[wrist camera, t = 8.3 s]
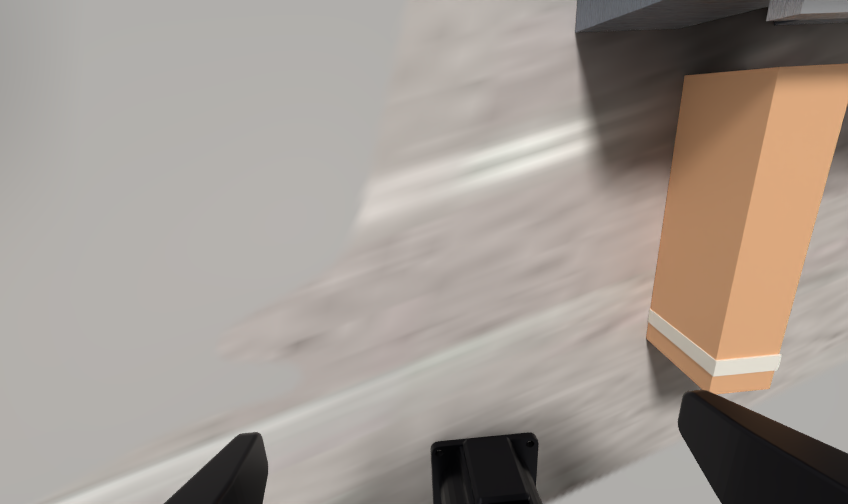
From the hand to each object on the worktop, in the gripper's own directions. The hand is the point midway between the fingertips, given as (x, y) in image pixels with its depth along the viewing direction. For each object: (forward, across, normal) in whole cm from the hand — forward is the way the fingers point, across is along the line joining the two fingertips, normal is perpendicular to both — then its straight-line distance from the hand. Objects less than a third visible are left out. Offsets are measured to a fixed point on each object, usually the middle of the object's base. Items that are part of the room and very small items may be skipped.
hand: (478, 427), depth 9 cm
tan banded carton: (+13, -14, 0) cm, 19 cm away
